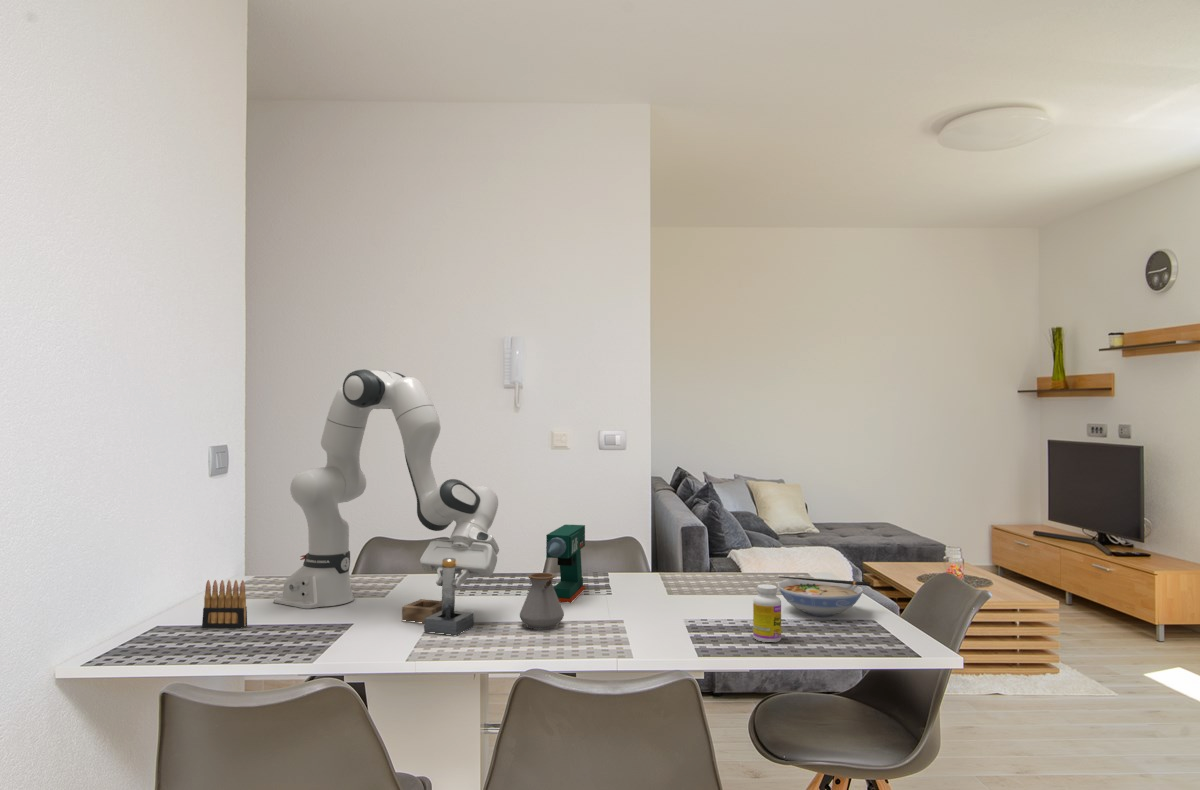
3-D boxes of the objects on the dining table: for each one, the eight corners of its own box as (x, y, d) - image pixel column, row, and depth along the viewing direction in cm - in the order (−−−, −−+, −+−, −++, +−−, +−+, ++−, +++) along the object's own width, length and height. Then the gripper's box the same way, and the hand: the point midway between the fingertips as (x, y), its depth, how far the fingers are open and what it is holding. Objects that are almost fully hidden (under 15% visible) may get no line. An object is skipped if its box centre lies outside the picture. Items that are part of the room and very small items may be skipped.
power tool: (561, 615, 205) (561, 541, 205) (536, 613, 206) (536, 540, 207) (586, 589, 236) (587, 524, 237) (565, 587, 237) (565, 524, 238)
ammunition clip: (247, 626, 193) (248, 579, 193) (243, 628, 191) (244, 580, 191) (205, 626, 193) (206, 579, 193) (201, 628, 191) (202, 580, 191)
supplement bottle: (775, 645, 178) (775, 590, 178) (749, 640, 182) (749, 587, 182) (785, 638, 184) (784, 585, 184) (759, 634, 187) (758, 582, 188)
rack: (402, 621, 197) (402, 606, 198) (420, 613, 206) (420, 599, 206) (432, 624, 195) (432, 609, 195) (449, 615, 203) (449, 601, 203)
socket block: (424, 632, 187) (424, 618, 187) (442, 623, 196) (443, 609, 196) (456, 636, 184) (456, 621, 185) (473, 626, 193) (473, 612, 193)
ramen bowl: (764, 617, 203) (764, 587, 203) (782, 599, 223) (782, 571, 223) (862, 629, 192) (862, 597, 192) (871, 609, 212) (871, 579, 213)
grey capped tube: (438, 619, 189) (439, 559, 190) (445, 616, 193) (446, 557, 193) (450, 621, 188) (451, 560, 189) (457, 617, 191) (458, 558, 192)
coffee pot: (517, 620, 199) (517, 563, 199) (560, 618, 201) (560, 562, 201) (525, 644, 178) (526, 580, 178) (573, 642, 180) (573, 578, 181)
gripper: (428, 530, 201) (407, 574, 191) (497, 536, 194) (479, 582, 185) (436, 544, 205) (416, 588, 195) (505, 550, 198) (487, 596, 189)
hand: (447, 585), depth 190 cm, fingers closed on grey capped tube, 3 cm apart
